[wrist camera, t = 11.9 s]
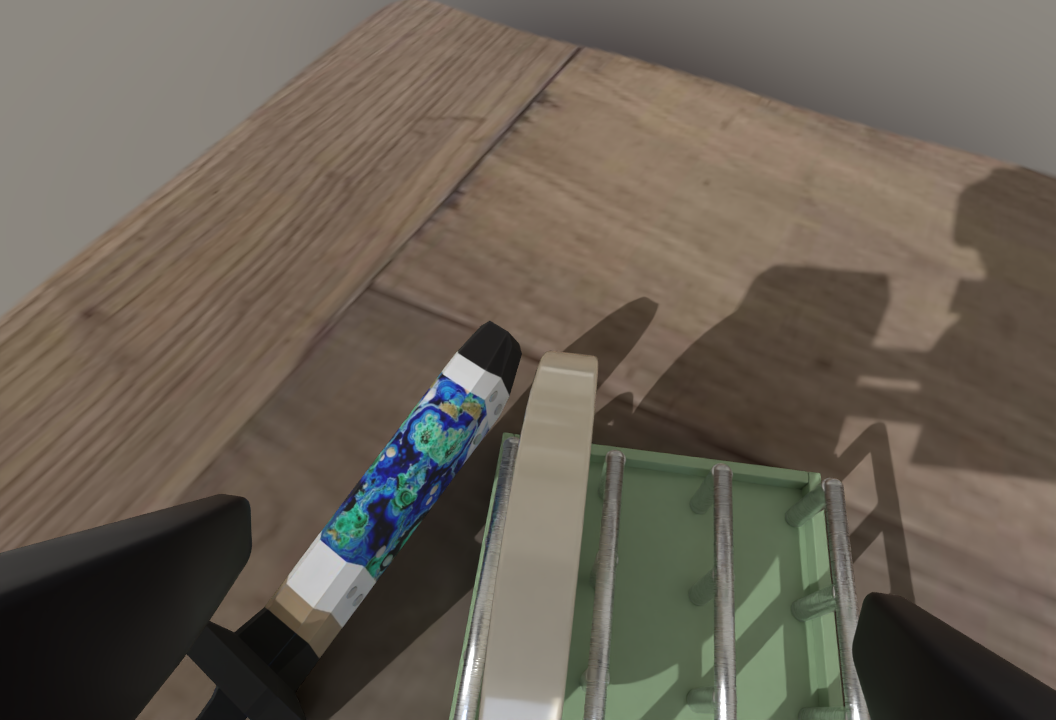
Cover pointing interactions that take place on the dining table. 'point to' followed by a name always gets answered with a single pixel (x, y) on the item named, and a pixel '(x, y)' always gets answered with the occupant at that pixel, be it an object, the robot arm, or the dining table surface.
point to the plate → (541, 545)
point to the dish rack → (693, 593)
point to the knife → (358, 539)
